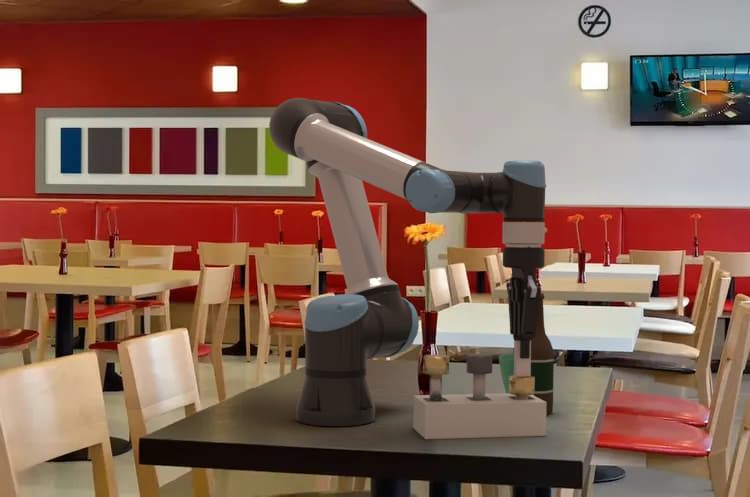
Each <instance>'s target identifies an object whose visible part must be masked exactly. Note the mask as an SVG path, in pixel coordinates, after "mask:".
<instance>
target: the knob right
mask: <svg viewBox="0 0 750 497" xmlns="http://www.w3.org/2000/svg"><path fill="white" fill-rule="evenodd" d="M534 390H535V377H533V376H520V377H516V376H514V375H513V376H509V394H512V395H516V400H528V395H534Z"/></svg>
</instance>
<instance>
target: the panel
mask: <svg viewBox="0 0 750 497" xmlns="http://www.w3.org/2000/svg"><path fill="white" fill-rule="evenodd" d="M546 403H547V402H545V401H543V400H541V399H539V398H537V397H535V396H533V395H528V400H516V395H512V394H506V393H485V400H484V401H475V400H473V393H471V394H470V393H468V394H467V393H465V394H461V393H460V394H442V401H441V402H432V401H430V394H426V395H425V394H424V395H423V394H422V395H420V394H419V395H418V394H417V395H413V411H412V412H413V417H412V420H413V422H412V424H413V425H412V428H413V429H414V430H415V431H416V432H417V433H418V434H419V436H422V438H424V439H425V440H437V439H438V440H441V439H446V440H447V439H474V438H475V439H477V438H478V439H479V438H513V437H514V438H515V437H546V436H547V415H546Z"/></svg>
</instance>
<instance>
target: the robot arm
mask: <svg viewBox="0 0 750 497" xmlns="http://www.w3.org/2000/svg"><path fill="white" fill-rule="evenodd" d="M268 126H269V127H268V131H269V135H270V139H271V140H272V142H273V144H274V146H275V147H276V148H277V149H278V150H280V151H281V152H282V153H285V154H286V155H289V156H293V157H295V158H297V159H299V160H301V161H305V162H306V165H307V169H308V172H309V174H310V175H312V176H314V177H316V178H317V179H318V182H319V186H320V190H321V194H322V197H323V200H324V205H325V208H326V212H327V213H326V214H327V216H328V220H329V223H330V228H331V232H332V236H333V239H334V243H335V248H336V250H337V254H338V257H339V263H340V265H341V270H342V273H343V277H344V281H345V285H346V291H345V293H344V294H335V295H325V296H321V297H318V298H315V299H312V300H311V301H309V303H308V304H307V306H306V310H305V319H304V326H305V327H304V331H305V332H304V333H305V334H304V336H305V338H304V339H305V344H304V346H305V351H304V353H305V355H304V356H305V357H304V358H305V360H304V361H305V362H304V365H305V373H304V374H305V375H304V377H305V378H304V382H303V386H302V388H301V391H300V394H299V397H298V400H297V404H296V406H295V420H296V421H297V422H299V423H302V424H306V425H312V426H322V427H349V426H350V427H351V426H361V425H366V424H370V423H372V422H374V421H375V420H376V406H375V404H374V400H373V397H372V393H371V389H370V386H369V383H368V380H367V360H373V359H378V358H390V357H393V356H396V355H399V354H401V353H404V352H406V351H407V350H408V349H409V348H411V346H412V345H413V343H414V342H415V339H416V337H417V335H418V333H419V325H420V324H419V323H420V322H419V315H418V312H417V310H416V308H415V306H414V305H413V303H412V302H409V301H408V299H406V298H405V297H402V295H401V291H400V287H399V284H398V283H397V282H395V281H394V280H392V279H391V278H389V275H388V272H387V269H386V264H385V262H384V261H385V260H384V257H383V253H382V249H381V244H380V242H379V238H378V235H377V231H376V228H375V223H374V220H373V216H372V212H371V209H370V205H369V201H368V198H367V194H366V190H365V186H364V183H363V182H365V183H368V184H370V185H371V186H374V187H377V188H379V189H381V190H384V191H386V192H388V193H391V194H393V195H395V196H397V197H399V198H402V199H405V200H407V201H408V203H409V204H410V206H412V208H414V209H415V210H416V211H419V212H425V213H428V214H438V213H439V214H440V213H442V214H443V213H447V214H448V213H452V214H453V213H454V214H455V213H457V214H468V215H469V214H490V213H491V214H495V213H497V214H502V244H504V245H505V246H504V247H503V249H502V266H503V267H504V268H508V269H512V270H511V277H510V278H509V282H506V284H505V286H506V290H507V300H508V316H509V318H508V319H509V334H510V335H512V338H513V354H514V376H516V377H520V376H531V340H532V338H535V337H536V326H537V315H538V305H539V297H540V293H542V288H541V286H540V285H538V280H537V279H538V278H536V272H535V270H536V269H541V268H544V267H545V251H546V250H545V249H544V247H542V245H544V244H545V237H546V236H545V234H546V233H547V232H548V229H547V227H545V226H546V224H545V223H546V218H545V211H546V188H547V184H546V168H545V165H544V163H543V162H542V161H539V160H532V159H531V160H527V159H526V160H524V159H523V160H521V159H520V160H518V159H517V160H508V161H505V162H504V164H503V169H502V171H499V172H470V171H456V170H446V169H442V168H439V167H437V166H435V165H432V164H430V163H427V162H425V161H422V160H420V159H418V158H415V157H413V156H411V155H408V154H405V153H403V152H400V151H398V150H396V149H393V148H391V147H388V146H386V145H384V144H382V143H379V142H376V141H374V140H371V139H368V130H367V126H366V122H365V120H364V118H363V117H362V115H361V114H360V113H359V112H358V110H356V109H355V108H353V107H351V106H350V105H347V104H346V105H345V104H343V103H341V102H337V101H323V100H316V99H311V98H310V99H309V98H304V97H294V98H290V99H287V100H285V101H283V102H281V103H280V104H279V105H278V106H277V107H276V108H275V109H274V110H273V112H272V115H271V116H270V119H269V125H268Z"/></svg>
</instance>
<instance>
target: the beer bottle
mask: <svg viewBox="0 0 750 497" xmlns="http://www.w3.org/2000/svg"><path fill="white" fill-rule="evenodd" d="M544 299H545V294H544V293H543V292H541V293H540V297H539V305H538V315H537V326H536V337H535V338H532V340H531V376H533V377H535V390H534V395H533V396H535V397H537V398H539V399H541V400H543V401H545V402H547V403H546V416H550V414H551V415H552V414H553V412H554V410H553V408H554V371H555V370H554V368H555V366H554V365H555V364H554V362H555V360H554V348H553V346H552V345H553V344H552V342H551V341H550V339H549V337H548V336H547V334H546V329H545V319H544V318H545V315H544V313H545V312H544Z"/></svg>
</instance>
